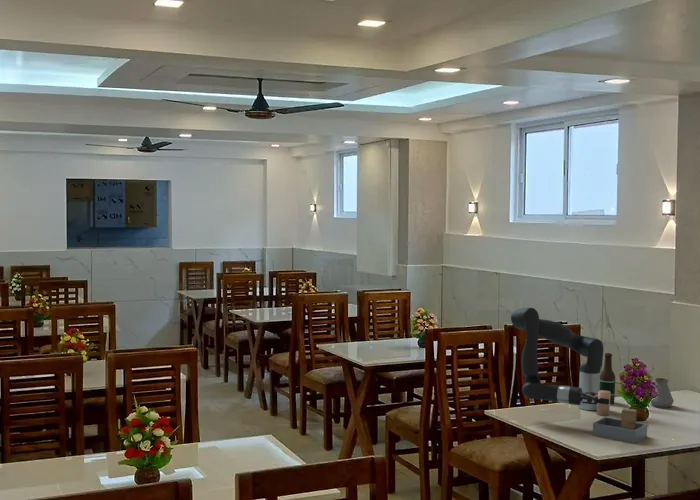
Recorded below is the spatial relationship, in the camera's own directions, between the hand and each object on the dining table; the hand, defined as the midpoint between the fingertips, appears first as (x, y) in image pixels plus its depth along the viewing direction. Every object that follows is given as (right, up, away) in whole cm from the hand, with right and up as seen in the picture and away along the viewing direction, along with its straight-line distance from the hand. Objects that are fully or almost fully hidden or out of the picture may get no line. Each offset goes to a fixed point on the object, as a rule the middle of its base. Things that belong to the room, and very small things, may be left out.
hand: (610, 400), depth 344 cm
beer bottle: (+15, -11, +54) cm, 57 cm away
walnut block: (+5, -12, -8) cm, 16 cm away
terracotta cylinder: (-3, -6, +2) cm, 7 cm away
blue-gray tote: (+2, -13, -6) cm, 15 cm away
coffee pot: (+35, -12, +48) cm, 61 cm away
